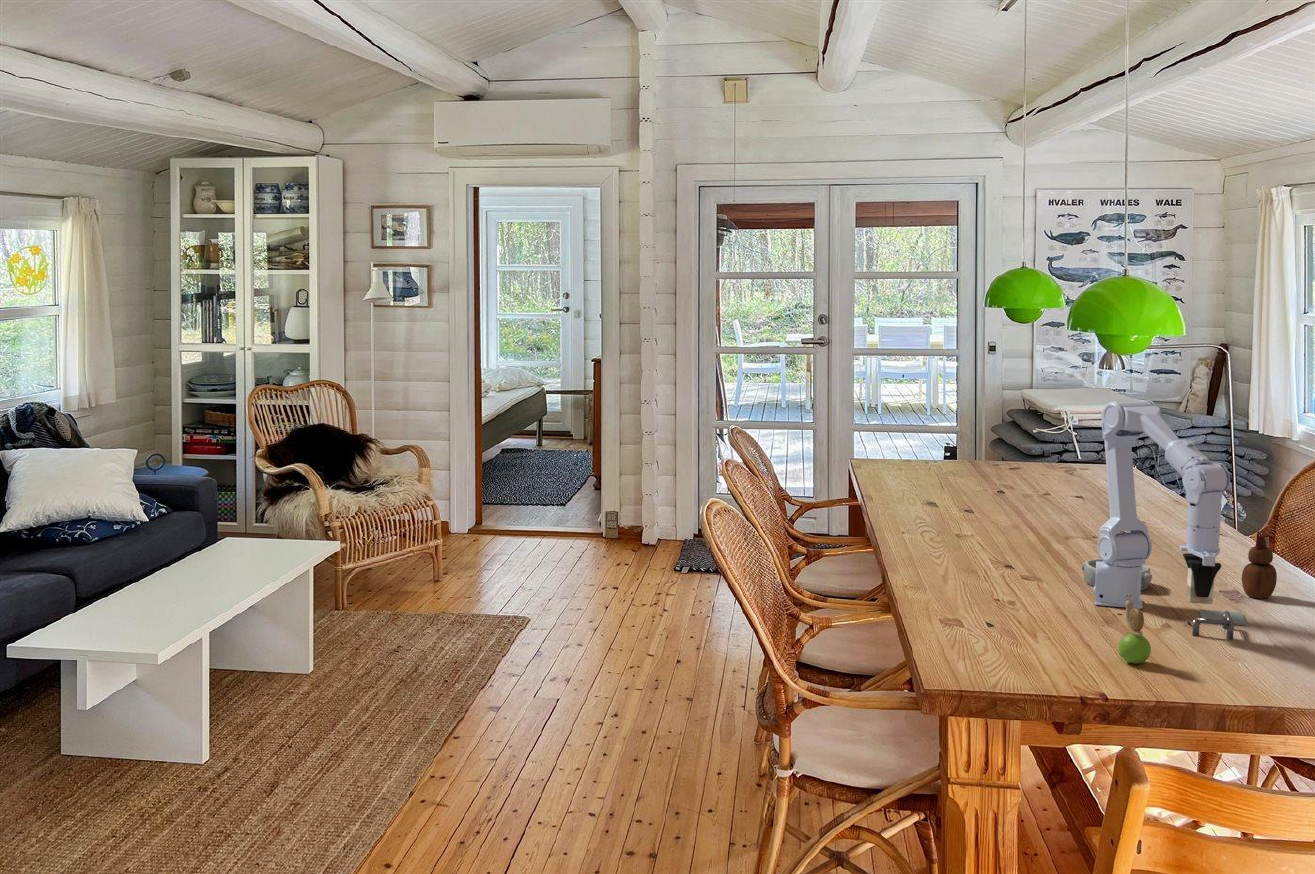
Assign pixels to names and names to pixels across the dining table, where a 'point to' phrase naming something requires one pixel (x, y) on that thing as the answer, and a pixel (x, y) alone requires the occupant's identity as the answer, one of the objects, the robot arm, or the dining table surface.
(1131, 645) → the green beige tall piece
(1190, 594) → the ash block
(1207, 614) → the mat
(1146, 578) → the dish
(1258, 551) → the wooden figurine
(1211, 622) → the bent rod
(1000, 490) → the dining table surface
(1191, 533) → the robot arm
